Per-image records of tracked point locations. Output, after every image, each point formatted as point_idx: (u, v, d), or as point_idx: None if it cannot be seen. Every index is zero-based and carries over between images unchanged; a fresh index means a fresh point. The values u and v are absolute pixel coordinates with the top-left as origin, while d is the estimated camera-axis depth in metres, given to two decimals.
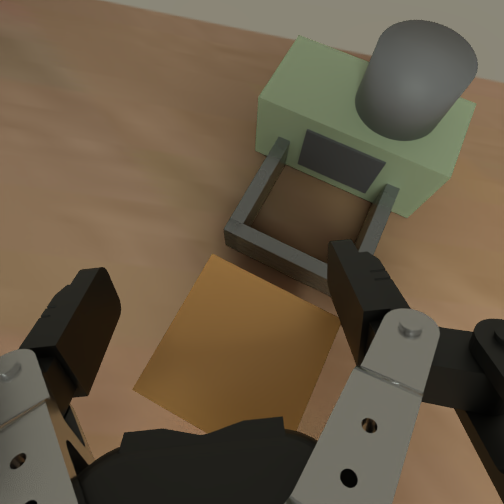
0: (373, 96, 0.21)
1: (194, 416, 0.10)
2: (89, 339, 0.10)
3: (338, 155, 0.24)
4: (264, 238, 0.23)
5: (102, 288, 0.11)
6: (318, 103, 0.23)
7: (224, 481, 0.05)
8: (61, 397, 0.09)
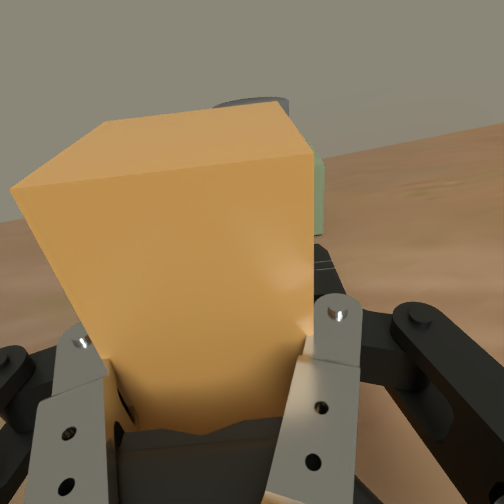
0: None
1: (139, 169, 0.06)
2: None
3: None
4: None
5: None
6: None
7: (224, 481, 0.05)
8: None
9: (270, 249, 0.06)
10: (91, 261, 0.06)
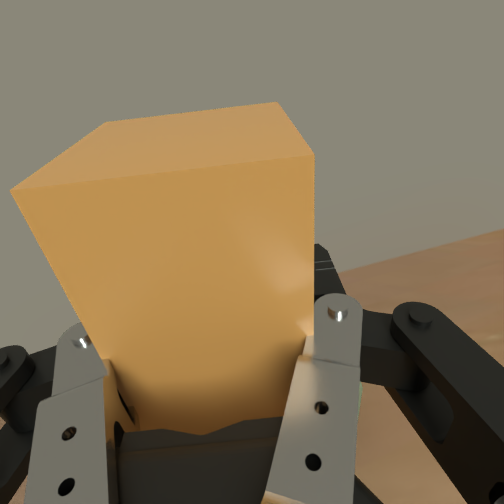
0: None
1: (139, 170, 0.06)
2: None
3: None
4: None
5: None
6: None
7: (224, 481, 0.05)
8: None
9: (270, 250, 0.06)
10: (91, 262, 0.06)
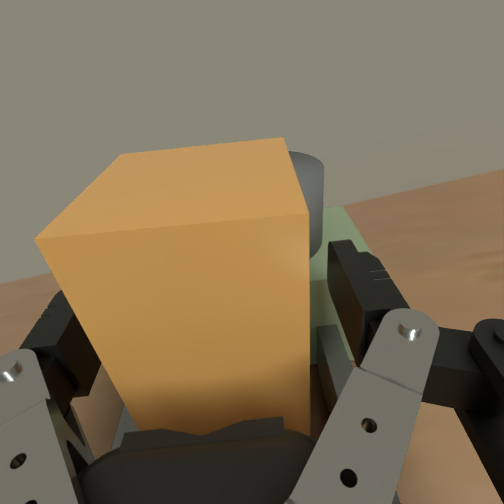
0: None
1: (149, 222, 0.06)
2: None
3: None
4: None
5: None
6: None
7: (224, 481, 0.05)
8: (62, 397, 0.09)
9: (268, 293, 0.07)
10: (105, 299, 0.07)
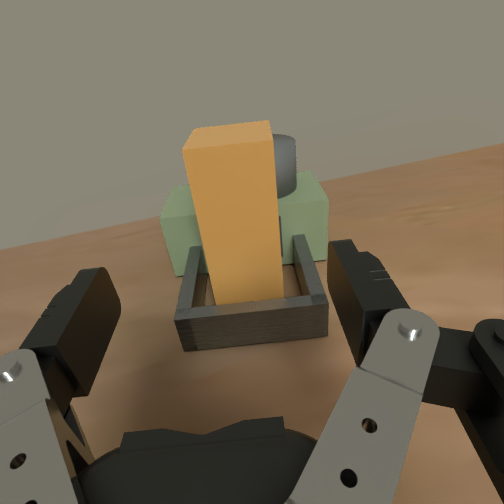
0: None
1: (219, 144, 0.18)
2: (89, 339, 0.10)
3: None
4: (218, 307, 0.22)
5: (102, 288, 0.11)
6: None
7: (224, 481, 0.05)
8: (62, 397, 0.09)
9: (260, 172, 0.19)
10: (201, 175, 0.19)
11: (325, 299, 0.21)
